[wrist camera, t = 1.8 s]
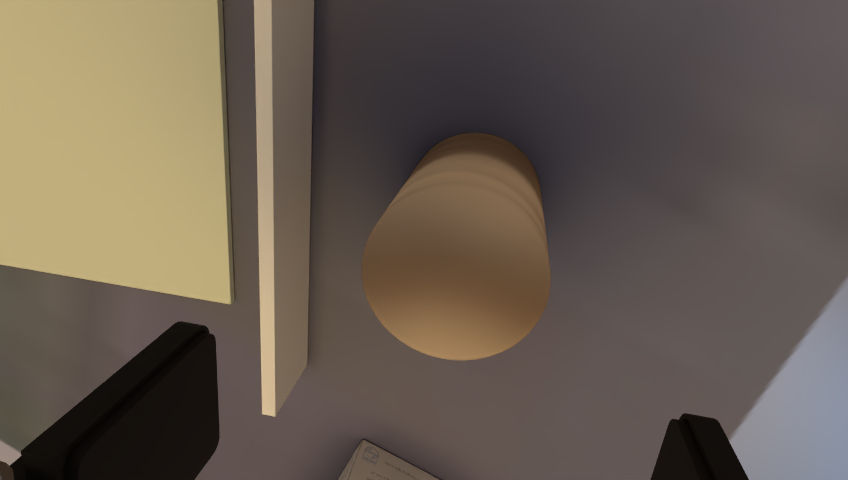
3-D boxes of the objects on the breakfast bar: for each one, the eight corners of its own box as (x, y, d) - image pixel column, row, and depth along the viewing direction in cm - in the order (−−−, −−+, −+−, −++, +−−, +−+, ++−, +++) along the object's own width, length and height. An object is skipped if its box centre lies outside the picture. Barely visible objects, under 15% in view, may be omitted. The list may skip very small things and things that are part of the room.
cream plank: (300, -90, 20) (251, -114, 17) (315, -89, 20) (270, -112, 17) (296, 362, 28) (262, 414, 24) (307, 364, 28) (275, 416, 24)
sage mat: (-89, -43, 23) (-99, -44, 23) (222, -10, 22) (216, -10, 21) (-19, 256, 29) (-26, 259, 28) (234, 300, 27) (230, 304, 27)
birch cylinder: (416, 124, 23) (366, 174, 15) (551, 141, 22) (568, 203, 15) (405, 246, 25) (356, 343, 17) (528, 266, 24) (532, 374, 17)
